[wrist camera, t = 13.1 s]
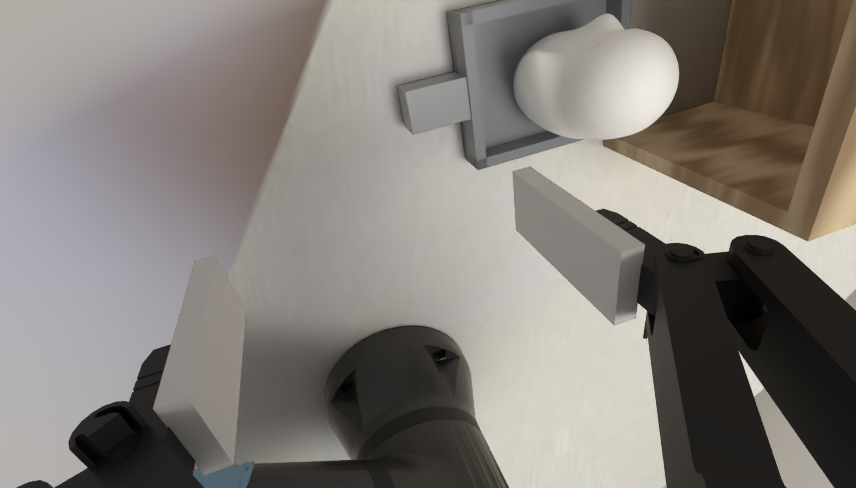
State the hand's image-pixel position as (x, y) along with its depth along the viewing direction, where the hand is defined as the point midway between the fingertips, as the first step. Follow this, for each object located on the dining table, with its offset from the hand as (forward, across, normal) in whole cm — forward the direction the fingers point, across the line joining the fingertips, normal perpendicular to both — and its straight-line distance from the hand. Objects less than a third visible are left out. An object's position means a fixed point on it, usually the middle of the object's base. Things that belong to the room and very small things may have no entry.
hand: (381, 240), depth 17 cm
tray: (+18, +14, 0) cm, 23 cm away
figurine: (+17, +17, 0) cm, 24 cm away
